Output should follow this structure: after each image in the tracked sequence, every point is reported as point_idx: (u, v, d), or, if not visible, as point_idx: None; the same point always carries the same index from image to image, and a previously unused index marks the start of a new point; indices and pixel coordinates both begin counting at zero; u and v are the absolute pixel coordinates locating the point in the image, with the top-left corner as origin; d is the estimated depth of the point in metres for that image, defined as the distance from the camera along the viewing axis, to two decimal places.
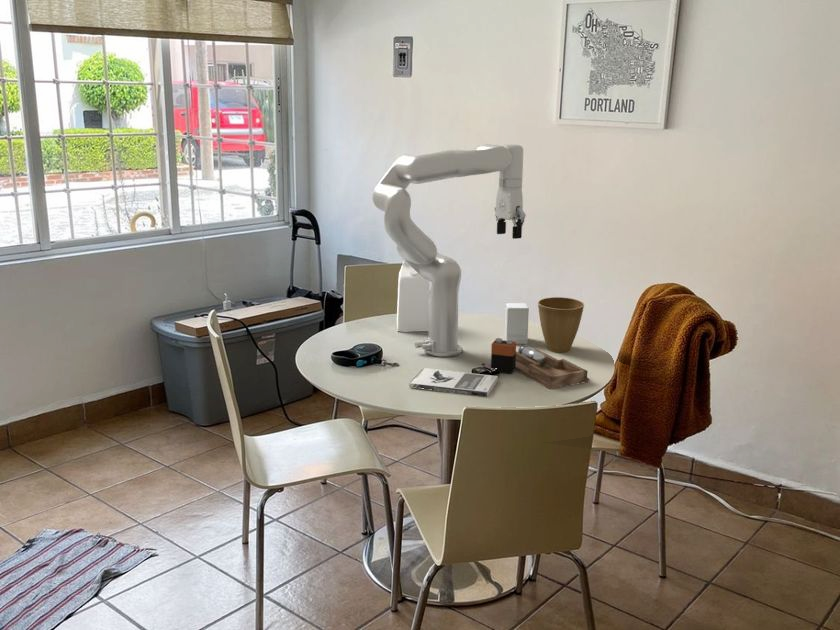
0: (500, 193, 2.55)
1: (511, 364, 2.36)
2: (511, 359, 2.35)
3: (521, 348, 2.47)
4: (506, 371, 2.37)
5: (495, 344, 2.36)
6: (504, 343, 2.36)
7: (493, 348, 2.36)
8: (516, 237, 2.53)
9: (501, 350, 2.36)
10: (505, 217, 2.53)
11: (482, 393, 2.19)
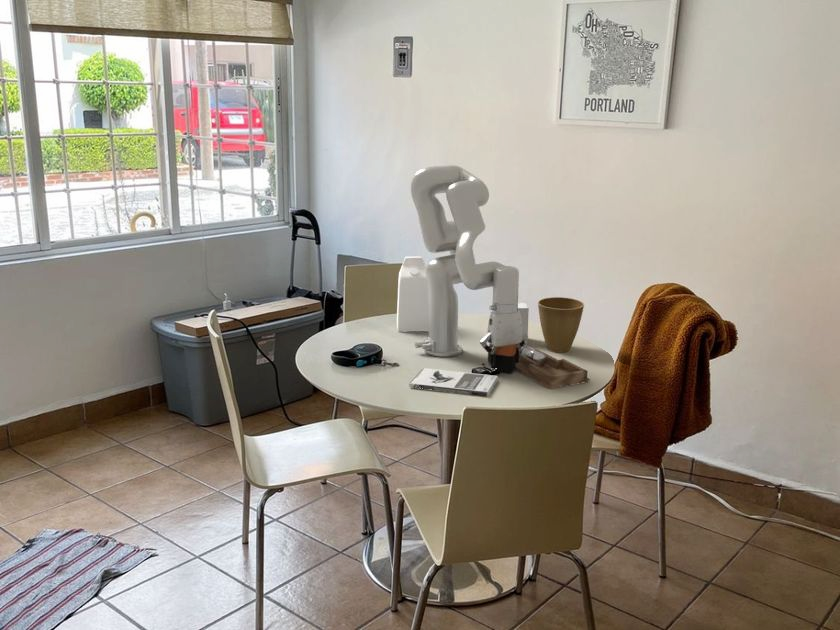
0: (504, 320, 2.32)
1: (511, 364, 2.36)
2: (511, 359, 2.35)
3: (521, 348, 2.47)
4: (506, 371, 2.37)
5: None
6: None
7: None
8: None
9: (501, 350, 2.36)
10: (514, 342, 2.35)
11: (482, 393, 2.19)
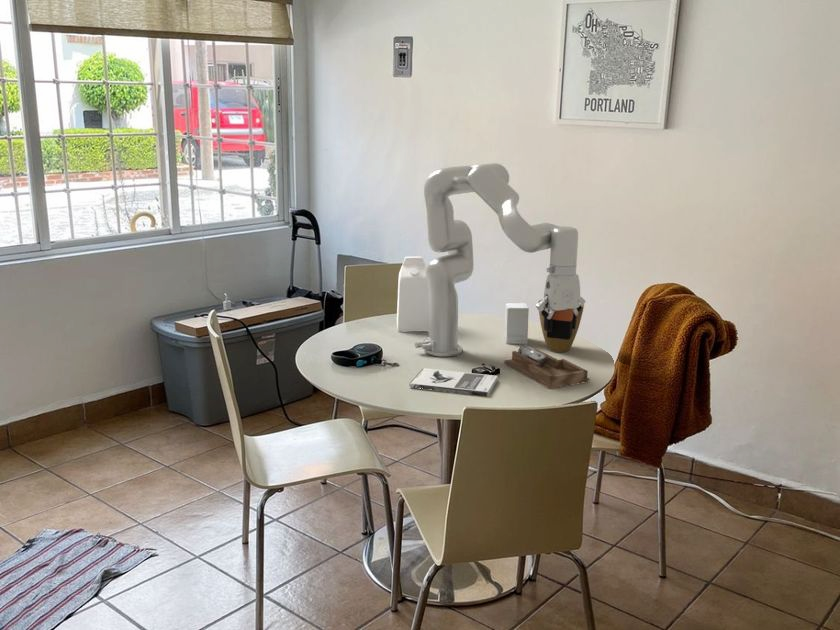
0: (562, 283, 2.22)
1: (569, 329, 2.25)
2: (569, 324, 2.25)
3: (521, 348, 2.47)
4: (563, 337, 2.27)
5: None
6: None
7: None
8: None
9: (558, 315, 2.25)
10: (572, 307, 2.25)
11: (482, 393, 2.19)
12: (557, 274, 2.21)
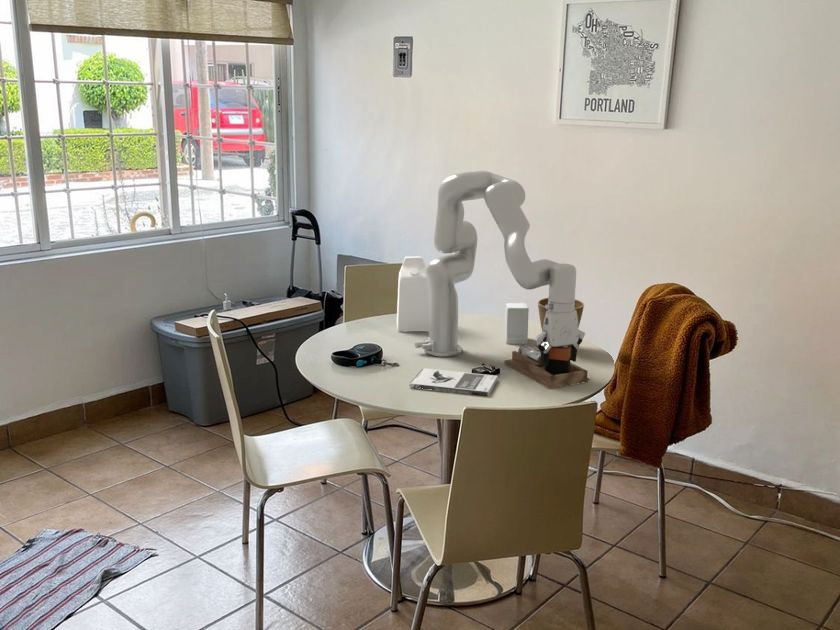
0: (561, 319, 2.24)
1: (566, 369, 2.29)
2: (566, 363, 2.28)
3: (521, 348, 2.47)
4: None
5: (550, 348, 2.29)
6: (559, 347, 2.29)
7: (547, 352, 2.29)
8: None
9: (555, 354, 2.29)
10: (570, 343, 2.28)
11: (483, 393, 2.19)
12: (555, 311, 2.24)
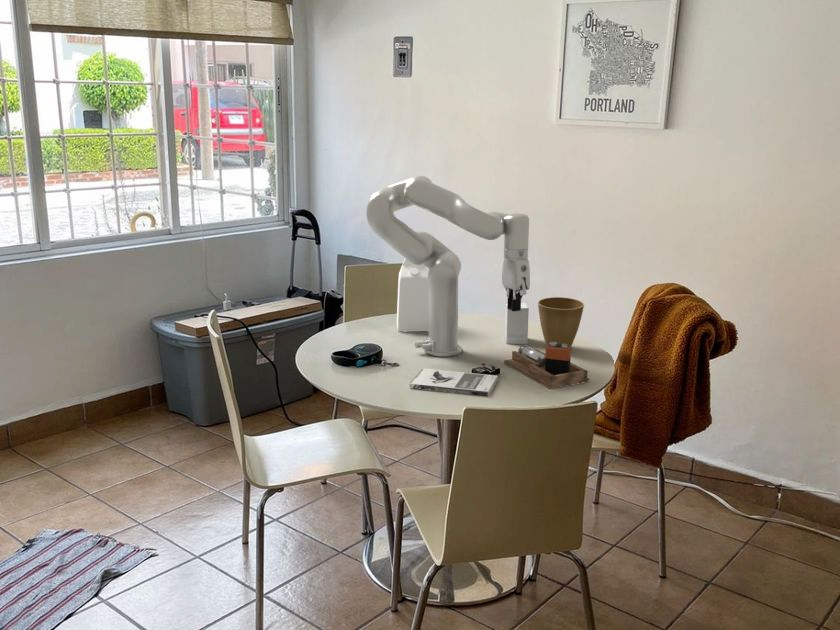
0: None
1: (566, 369, 2.29)
2: (566, 363, 2.28)
3: (521, 348, 2.47)
4: None
5: (550, 348, 2.29)
6: (559, 347, 2.29)
7: (547, 352, 2.29)
8: None
9: (555, 354, 2.29)
10: None
11: (483, 393, 2.19)
12: (526, 256, 2.44)
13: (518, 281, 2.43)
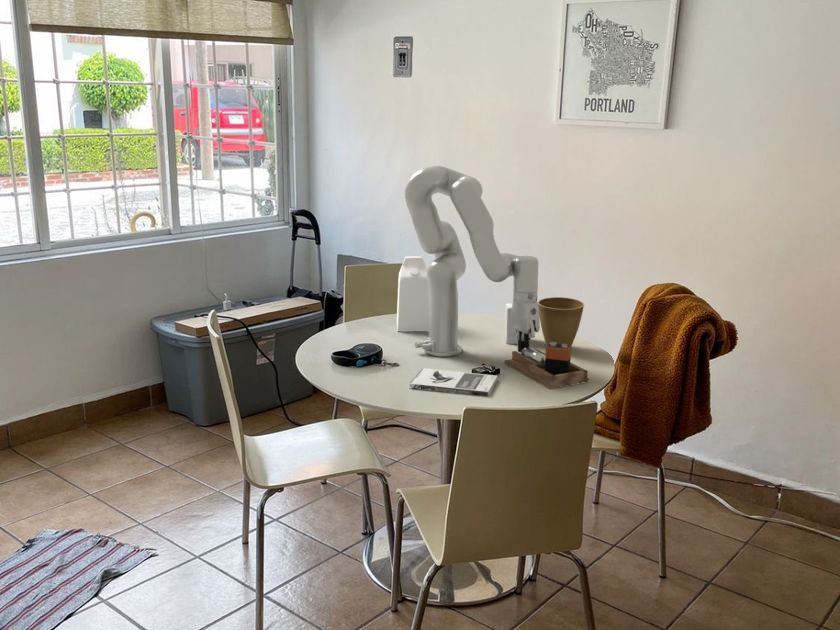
0: None
1: (566, 369, 2.29)
2: (566, 363, 2.28)
3: (524, 350, 2.45)
4: None
5: (550, 348, 2.29)
6: (559, 347, 2.29)
7: (547, 352, 2.29)
8: None
9: (555, 354, 2.29)
10: None
11: (483, 393, 2.19)
12: (536, 299, 2.42)
13: (528, 324, 2.41)
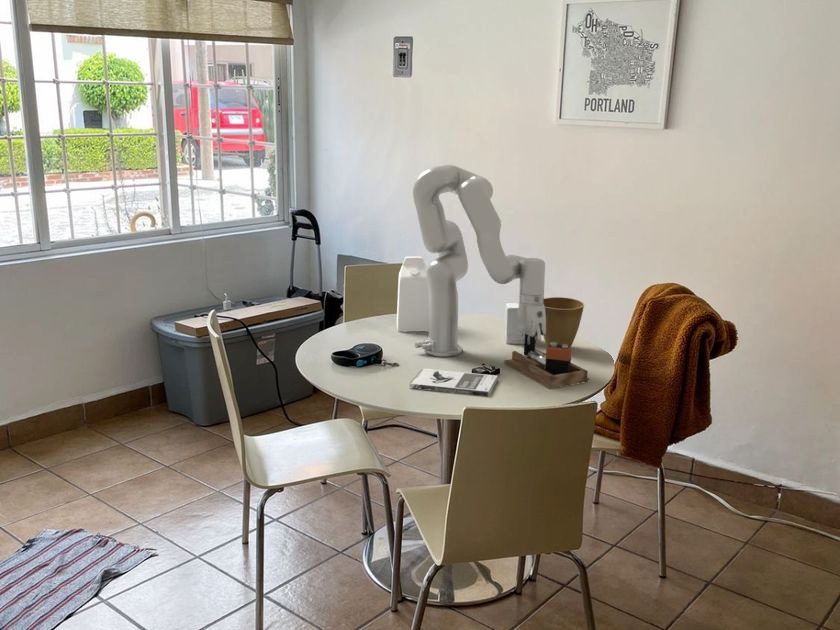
0: None
1: (566, 369, 2.29)
2: (567, 364, 2.28)
3: (530, 353, 2.42)
4: None
5: (550, 348, 2.29)
6: (559, 347, 2.29)
7: (548, 352, 2.29)
8: None
9: (556, 354, 2.29)
10: None
11: (483, 393, 2.19)
12: (542, 301, 2.39)
13: (534, 327, 2.38)
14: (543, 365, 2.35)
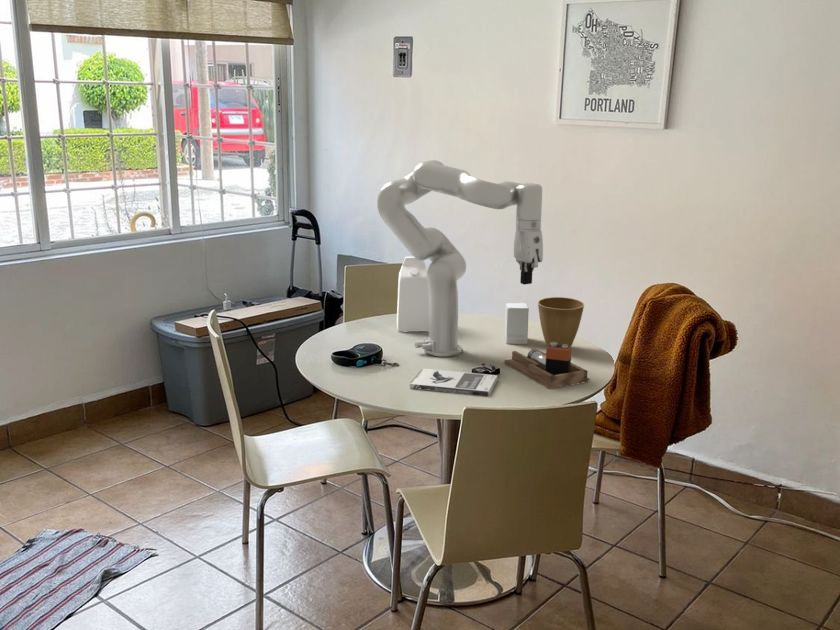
0: None
1: (567, 369, 2.29)
2: (567, 364, 2.28)
3: (530, 353, 2.42)
4: None
5: (550, 348, 2.29)
6: (559, 347, 2.29)
7: (548, 352, 2.29)
8: None
9: (556, 354, 2.29)
10: None
11: (483, 393, 2.19)
12: (539, 227, 2.36)
13: (531, 253, 2.35)
14: (543, 365, 2.35)
